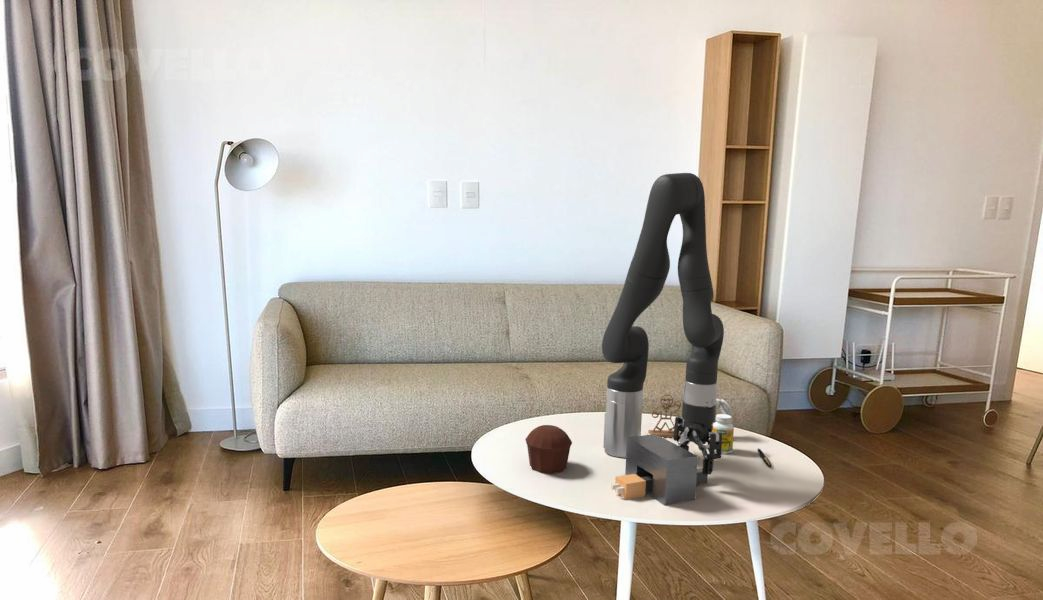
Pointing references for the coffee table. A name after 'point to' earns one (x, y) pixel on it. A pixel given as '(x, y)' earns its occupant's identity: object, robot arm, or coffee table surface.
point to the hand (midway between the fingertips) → (694, 467)
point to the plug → (643, 484)
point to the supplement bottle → (724, 432)
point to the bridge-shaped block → (663, 467)
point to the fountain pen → (764, 458)
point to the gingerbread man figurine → (664, 432)
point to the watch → (723, 408)
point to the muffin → (548, 449)
